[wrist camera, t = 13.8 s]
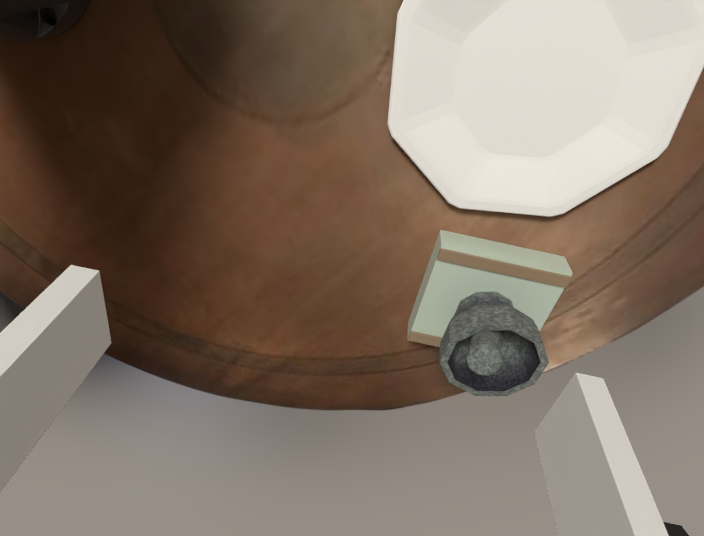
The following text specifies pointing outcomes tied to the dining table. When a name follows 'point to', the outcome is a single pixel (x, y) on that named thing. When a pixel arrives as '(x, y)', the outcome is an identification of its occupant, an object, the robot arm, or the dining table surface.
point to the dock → (484, 281)
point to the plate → (540, 95)
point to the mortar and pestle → (491, 347)
